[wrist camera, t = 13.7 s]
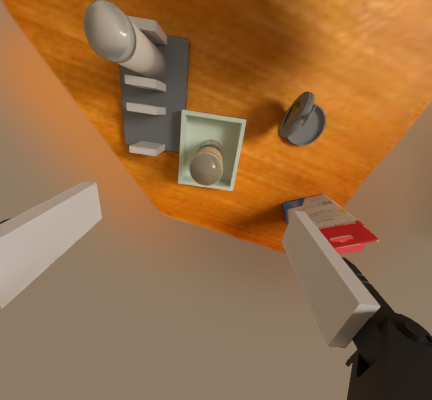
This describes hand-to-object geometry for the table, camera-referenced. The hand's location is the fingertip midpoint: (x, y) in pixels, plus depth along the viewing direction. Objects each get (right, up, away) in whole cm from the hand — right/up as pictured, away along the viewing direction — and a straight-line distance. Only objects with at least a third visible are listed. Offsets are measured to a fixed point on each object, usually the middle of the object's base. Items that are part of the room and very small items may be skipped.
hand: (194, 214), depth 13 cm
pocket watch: (+15, +15, +19) cm, 29 cm away
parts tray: (0, +10, +21) cm, 24 cm away
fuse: (-8, +21, +15) cm, 27 cm away
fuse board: (-9, +18, +18) cm, 27 cm away
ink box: (+20, -1, +26) cm, 33 cm away
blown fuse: (+1, +10, +21) cm, 23 cm away
